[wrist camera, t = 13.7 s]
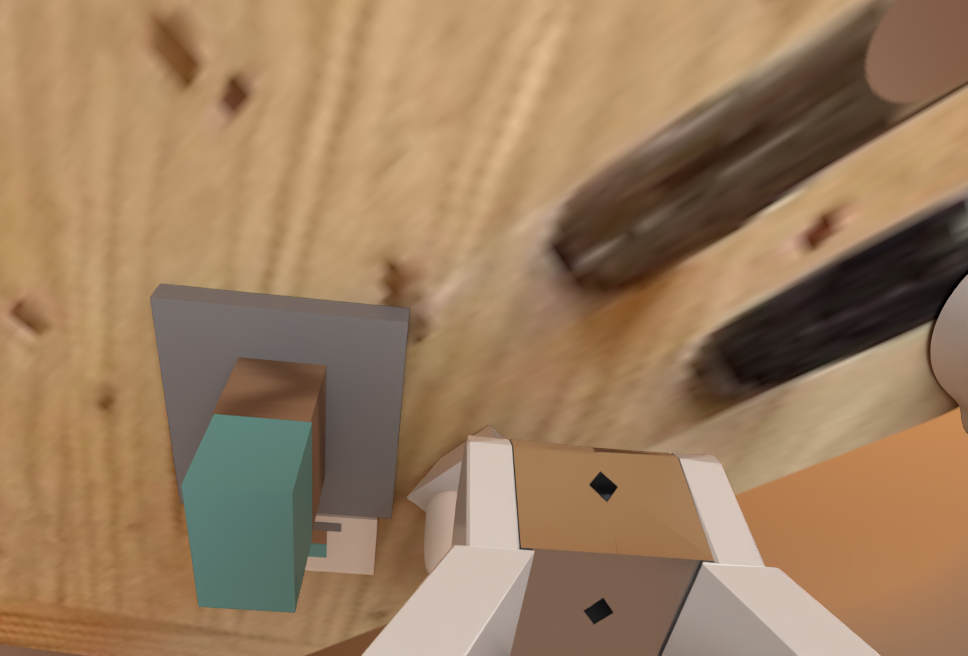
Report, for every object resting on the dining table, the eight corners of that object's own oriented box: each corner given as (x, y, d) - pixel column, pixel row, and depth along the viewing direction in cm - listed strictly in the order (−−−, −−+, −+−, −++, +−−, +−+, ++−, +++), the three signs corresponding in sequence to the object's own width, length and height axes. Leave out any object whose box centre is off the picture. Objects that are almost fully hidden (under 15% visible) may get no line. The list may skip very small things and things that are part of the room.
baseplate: (409, 308, 41) (408, 322, 40) (393, 502, 50) (391, 518, 48) (160, 283, 40) (150, 297, 38) (187, 486, 48) (180, 503, 47)
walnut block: (326, 365, 41) (310, 421, 37) (325, 476, 46) (310, 537, 42) (238, 357, 41) (212, 413, 37) (246, 470, 46) (224, 531, 41)
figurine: (480, 389, 44) (486, 596, 32) (571, 471, 48) (608, 683, 36) (398, 447, 47) (373, 660, 34) (491, 520, 51) (499, 735, 38)
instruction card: (377, 515, 50) (377, 521, 50) (374, 570, 53) (373, 575, 53) (204, 503, 49) (202, 508, 49) (211, 559, 52) (209, 565, 52)
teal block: (312, 422, 37) (292, 493, 33) (312, 537, 42) (295, 612, 38) (214, 413, 37) (181, 484, 32) (225, 532, 41) (198, 606, 37)
